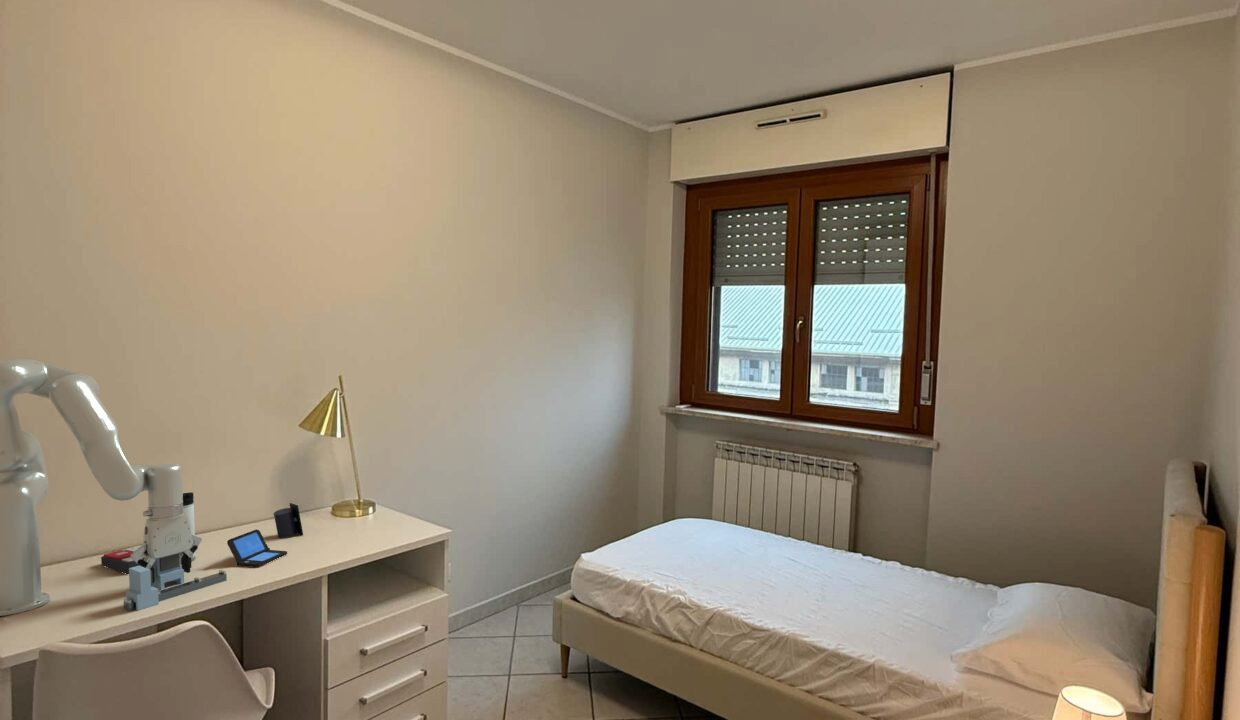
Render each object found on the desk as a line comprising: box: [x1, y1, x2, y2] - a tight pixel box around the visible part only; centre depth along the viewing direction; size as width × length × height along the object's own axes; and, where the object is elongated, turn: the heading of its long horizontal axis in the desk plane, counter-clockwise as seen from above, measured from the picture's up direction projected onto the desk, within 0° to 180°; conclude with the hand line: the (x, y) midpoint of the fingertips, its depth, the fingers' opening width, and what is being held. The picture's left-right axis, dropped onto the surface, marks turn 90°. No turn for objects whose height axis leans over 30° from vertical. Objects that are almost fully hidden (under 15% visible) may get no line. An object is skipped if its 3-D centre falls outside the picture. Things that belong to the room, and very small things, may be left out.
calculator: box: [100, 544, 153, 575], centre depth 193 cm, size 11×4×15 cm
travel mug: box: [180, 492, 196, 562], centre depth 196 cm, size 6×7×20 cm
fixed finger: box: [125, 566, 159, 611], centre depth 164 cm, size 6×4×9 cm
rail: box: [123, 569, 228, 612], centre depth 171 cm, size 23×2×3 cm, turn 149°
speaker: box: [273, 502, 304, 539], centre depth 220 cm, size 8×6×10 cm
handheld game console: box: [226, 529, 288, 568], centre depth 197 cm, size 12×11×7 cm
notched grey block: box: [152, 553, 185, 591], centre depth 177 cm, size 6×4×9 cm
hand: (168, 576), depth 177 cm, fingers open, 8 cm apart
